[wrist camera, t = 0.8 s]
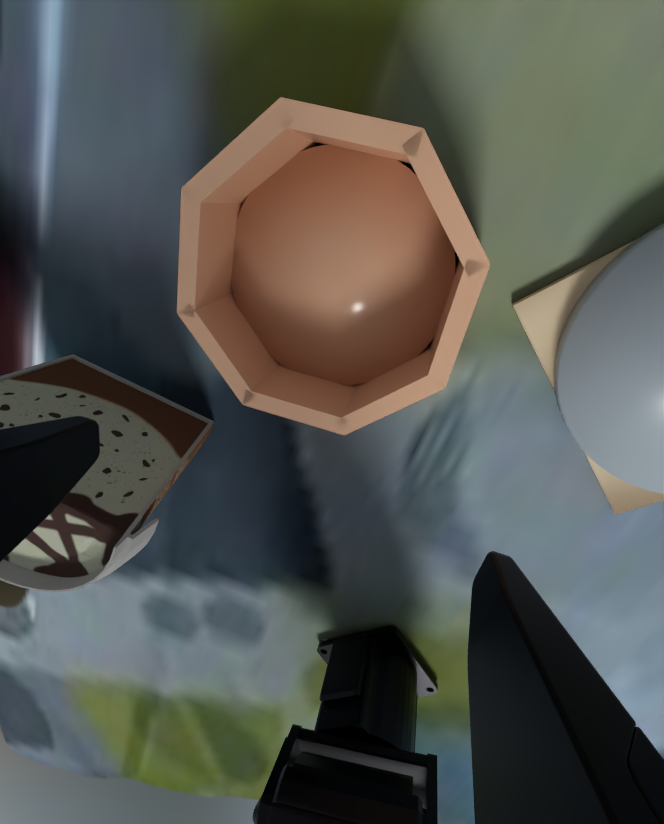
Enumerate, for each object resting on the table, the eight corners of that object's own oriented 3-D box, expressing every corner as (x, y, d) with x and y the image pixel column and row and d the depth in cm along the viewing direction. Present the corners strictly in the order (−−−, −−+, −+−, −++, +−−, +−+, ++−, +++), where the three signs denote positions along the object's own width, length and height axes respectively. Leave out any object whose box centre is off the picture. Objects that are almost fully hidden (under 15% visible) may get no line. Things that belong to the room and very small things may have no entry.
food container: (45, 424, 28) (-132, 522, 20) (50, 343, 26) (-155, 415, 17) (213, 505, 28) (109, 642, 19) (237, 432, 25) (128, 554, 16)
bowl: (515, 321, 19) (531, 348, 16) (307, 425, 24) (284, 463, 20) (384, 56, 16) (368, 16, 13) (177, 234, 21) (124, 239, 17)
